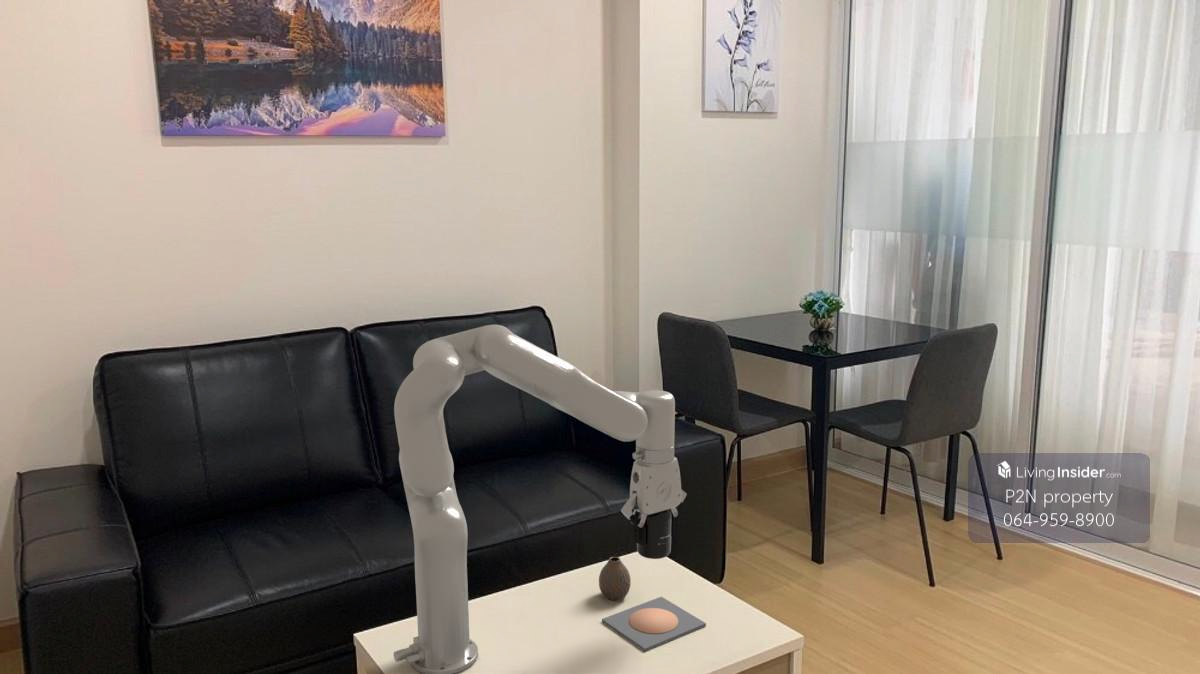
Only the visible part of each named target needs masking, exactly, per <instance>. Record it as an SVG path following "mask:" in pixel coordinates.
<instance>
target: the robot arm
mask: <svg viewBox="0 0 1200 674" xmlns="http://www.w3.org/2000/svg"><path fill="white" fill-rule="evenodd" d="M413 355H414V356H413V359H412V361H413V362H412V367H413V370H412V371H411V372H410V373H409V374H408V375H407V376H406V377H405V378H404V380H403V381H402V383H401V385H400V386H399V387H398V390H397V394H396V395H395V399H394V405H393V406H394V407H393V414H394V421H395V422H394V423H395V428H396V433H397V434H396V435H397V441H398V447H399V453H398V462H399V468H400V473H401V478H402V482H403V488H404V493H405V497H406V502H407V507H408V511H409V512H408V513H409V516H410V521H411V527H412V534H413V544H414V545H413V547H414V577H415V578H414V581H415V595H416V596H415V597H416V599H415V600H416V618H417V636H414V637H413V640H412V641H413V642H412V643H411V644H409V646H408V647H406V648H402V649H399V650H395V651H394V652H393V659H394V661H395V662H396V663H399V662H401V661H404V660H405V662H406V664H407V665H408V666H409V665H412V667H413V668H414V669H415V670H416V671H418V672H420V673H422V674H457V673H460V672H463V671H465V670H467V669H468V668H470V667H471V666H473V664H474V663H476V661H477V659H478V656H479V649H478V648H479V647H478V645H477V644H476V642H475V641H474V640H472V639H471V638H470V621H469V619H470V618H469V617H470V615H469V613H470V612H469V592H468V591H469V590H468V589H469V588H468V586H469V585H468V567H467V564H468V557H467V554H468V539H469V538H468V536H469V535H468V525H467V520H466V517H465V514H464V513H465V512H464V511H463V508H462V506H461V504H460V501H459V497H458V494H457V490H456V484H455V480H454V479H455V478H454V472H455V467H454V460H453V456H452V453H451V451H450V447H449V443H448V437H447V433H446V432H447V431H446V423H445V418H444V408H445V405H446V403H447V401H448V400H449V399H450V398H451V396H453V395H454V394H455V393H456V392H457V391H458V390H459V389H460V388H461V386H462V385H463V382H464V379H465V376H469V375H472V374H475V373H480V372H483V371H486V372H487V373H489V374H490V375H491V376H493V377H495V378H497V379H499V380H500V381H503V382H504V383H507V384H509V385H511V386H513V387H514V388H518V389H520V390H521V391H523V392H526V393H527V394H529V395H531V396H533V397H535V398H537V399H539V400H541V401H543V402H545V403H547V404H548V405H550V406H551V407H554V408H555V409H557V410H559V411H561V412H563V413H565V414H568V415H570V416H572V417H573V418H576V419H577V420H578V421H580V422H582V423H584V424H586V425H588V426H589V427H592V428H594V429H596V430H597V431H600V432H601V433H604V434H605V435H608V436H609V437H611V438H613V439H616V440H618V441H621V442H633V441H635V452H632V455H631V456H632V459H633V460H635V461H633V465H632V470H631V475H630V485H629V498H628V499H627V501H626V502H625V503H624V504H623V506H622V507H621V509H620V512H621V513H622V514H623V515H624V517H625V518H626V519H627V520H628V521H629V522H630V523H631V524H632V525H633V527H632V529H633V530H632V531H633V533H632V534H633V535H632V538H633V540H632V541H633V542H635V543H636V544H637V543H638V544H640V545H642V546H644V545H646V527H645V526H643V525H644V523H645V520H646V517H647V515H651V514H655V513H658V512H662V511H665V510H668V509H669V510H670V511H671V514H672V522H671V537H674V536H675V535H676V534H675V533H676V518H677V517H678V515H679V513H678V512H679V510H680V508H681V507H682V505H683V503H684V501H685V499H686V497H687V495H688V494H687V492H685V491H684V490H683V489H682V479H681V478H682V477H681V472H680V466H679V461H678V457H676V456H675V433H676V432H675V429H676V428H675V427H676V426H675V424H676V423H675V421H676V416H675V415H676V400H675V397H674V395H673V394H672V393H671V392H669V391H665V390H660V389H650V390H645V391H640V392H638V391H637V392H636V391H626V390H625V391H624V390H623V391H622V390H610V389H608V388H607V387H605V386H603V385H601V384H600V383H598V382H596V380H593V379H592V378H590V377H589V376H588V375H586V374H585V373H584V372H582V371H581V370H580V369H579V368H577V367H576V366H574V365H573V364H572V363H570V362H568V361H566V360H564V359H563V358H562V357H561V358H560V357H559V356H557V355H555V354H552V353H551V352H549V351H547V350H546V349H543V348H541V347H539V346H537V345H535V344H534V343H532V342H530V341H529V340H526V339H524V338H522V337H520V336H518V335H517V334H515V333H514V332H512V331H511V330H510V329H509V328H507V327H506V326H504V325H501V324H488V325H483V326H479V327H476V328H472V329H471V328H470V329H468V330H463V331H459V332H456V333H453V334H449V335H445V336H440V337H438V338H434V339H431V340H428V341H426V342H425V343H423V344H421V345H420V346H419V347H418V348H417V350H416V351H415V354H413ZM640 513H641V515H640V518H639V519H638V516H639V514H640Z"/></svg>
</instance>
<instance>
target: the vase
mask: <svg viewBox="0 0 1200 674" xmlns="http://www.w3.org/2000/svg"><path fill="white" fill-rule="evenodd" d="M631 584H632V583H631V575H630V572H629V569H628V568H627V567H626V565H625V564H624V562H622V560H621V558H620V557H618V556H611V557H609V558H608V560H607V563H606V564H605V565H604V566H603V567H602V568H601V571H600V573H599V576H598V587H599V590H600V592H601V594H602V596H603V597H605V599H607V600H609V601H611V602H612V601H615V602H616V601H621V600H623V599H624V598H625V597H626V596H627V595H628V594H629V592H630V589H631Z"/></svg>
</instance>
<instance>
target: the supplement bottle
mask: <svg viewBox="0 0 1200 674" xmlns="http://www.w3.org/2000/svg"><path fill="white" fill-rule="evenodd" d="M640 515H641V513H640V514H639V516H638V519H639V518H640ZM671 522H672V514H671V511H670V510H669V509H668V510H665V511H662V512H658V513H655V514H651V515H647V517H646V520H645V523H644V525H643V526H645V527H646V545H644V546H642V545H640V544H638V543H636V548H637V549H636V551H637V553H638V555H640V556H641V557H643V558H645V559H651V560H659V559H664V558H667V557H669V555H670V554H671V551H672V536H671Z"/></svg>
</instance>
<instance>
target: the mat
mask: <svg viewBox="0 0 1200 674" xmlns="http://www.w3.org/2000/svg"><path fill="white" fill-rule="evenodd" d="M601 622H602V623H603V624H605V625H606V626H608V627H609V628H610V629H612V631H615V632H616V633H618V634H619V636H620V635H621V636H622V637H623V638H625V639H626V640H627V641H629V642H631V643H632V644H633V645H634V646H636V647H638V648H639V649H640V650H641V651H643V652H647V651H650V650H652V649H654V648H656V647H660V646H662V645H664V644H666V643H669V642H671V641H674V640H676V639H678V638H681V637H683V636H685V635H688V634H690V633H692V632H695V631H697V630H700V629H703V628H704V627H706V626H707V623H706V622H705V621H703V620H702V619H700V618H697V617H696V616H695V615H693V614H691V613H690V612H687V611H686V610H685V609H683V608H681V607H680V606H678V605H677V604H674V603H673V602H671V601H670V600H668V599H666V598H665V597H664V596H659V597H656V598H654V599H651V600H649V601H646V602H643V603H641V604H638V605H635V606H633V607H630V608H628V609H625V610H621V611H620V612H617V613H614V614H611V615H609V616H605V617H604V618H601Z"/></svg>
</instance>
